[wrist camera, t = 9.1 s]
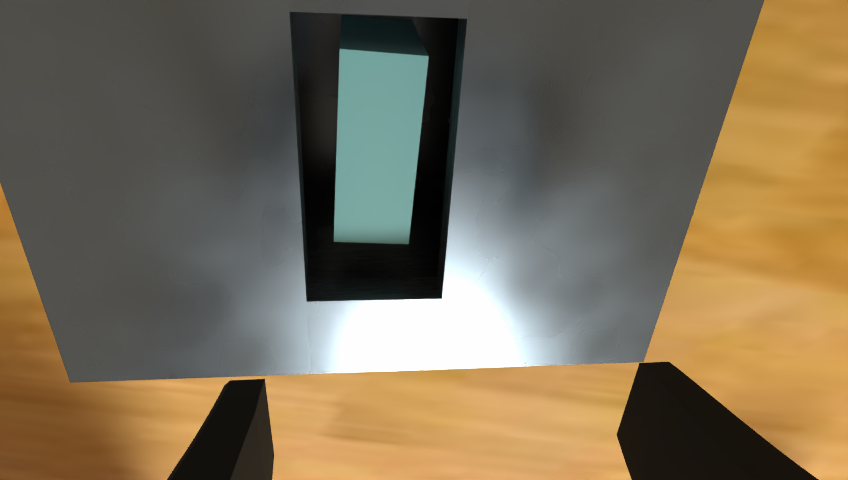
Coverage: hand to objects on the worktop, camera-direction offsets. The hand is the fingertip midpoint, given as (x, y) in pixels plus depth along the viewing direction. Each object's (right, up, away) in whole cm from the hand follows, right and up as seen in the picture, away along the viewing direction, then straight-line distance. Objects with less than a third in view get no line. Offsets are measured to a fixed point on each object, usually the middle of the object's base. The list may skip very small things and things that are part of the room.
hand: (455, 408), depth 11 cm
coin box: (-2, +8, +7) cm, 11 cm away
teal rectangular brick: (-2, +7, +6) cm, 10 cm away
